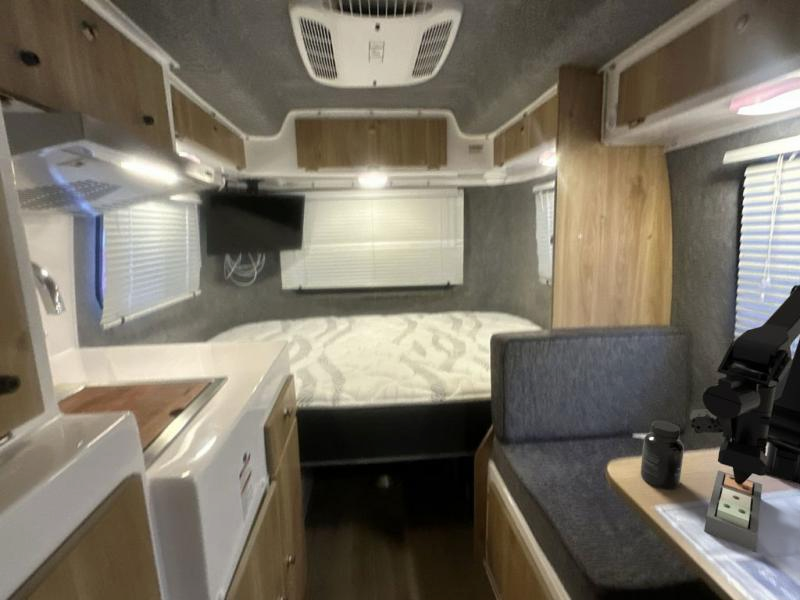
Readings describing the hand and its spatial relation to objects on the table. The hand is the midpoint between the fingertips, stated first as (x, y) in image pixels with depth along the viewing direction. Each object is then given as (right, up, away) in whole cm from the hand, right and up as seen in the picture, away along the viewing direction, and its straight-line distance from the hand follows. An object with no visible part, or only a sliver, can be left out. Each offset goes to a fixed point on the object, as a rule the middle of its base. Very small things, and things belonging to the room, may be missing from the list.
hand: (738, 482), depth 76 cm
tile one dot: (-4, -4, -3) cm, 6 cm away
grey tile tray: (-4, -4, -3) cm, 7 cm away
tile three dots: (0, -3, +1) cm, 3 cm away
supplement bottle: (-11, -3, +7) cm, 13 cm away
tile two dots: (-7, -3, -8) cm, 11 cm away
